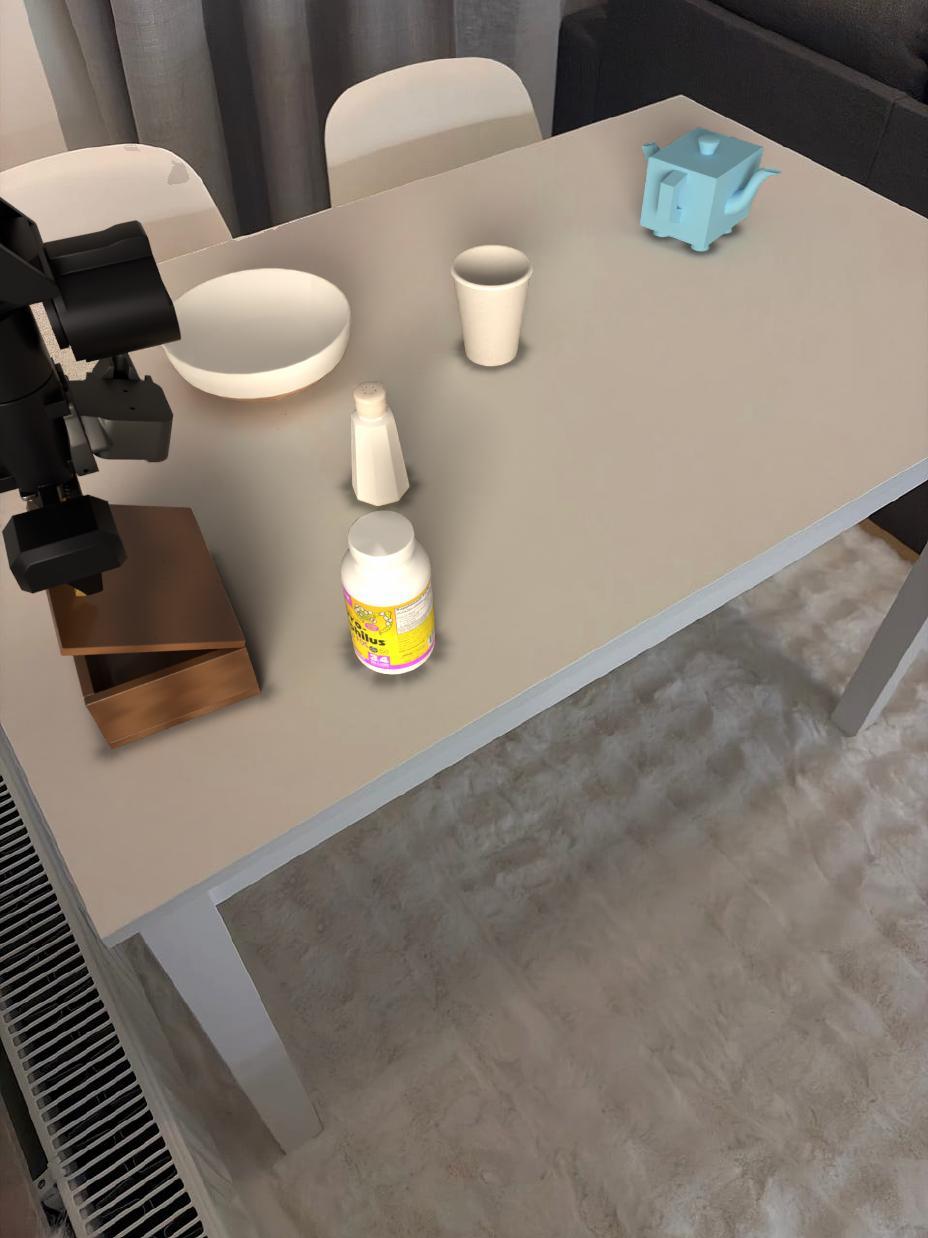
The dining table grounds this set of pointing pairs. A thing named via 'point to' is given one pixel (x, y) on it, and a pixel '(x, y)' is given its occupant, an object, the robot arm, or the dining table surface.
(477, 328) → the dixie cup
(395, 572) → the supplement bottle
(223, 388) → the bowl
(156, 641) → the lid
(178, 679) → the chest
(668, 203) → the teapot
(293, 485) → the dining table surface
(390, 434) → the salt shaker
